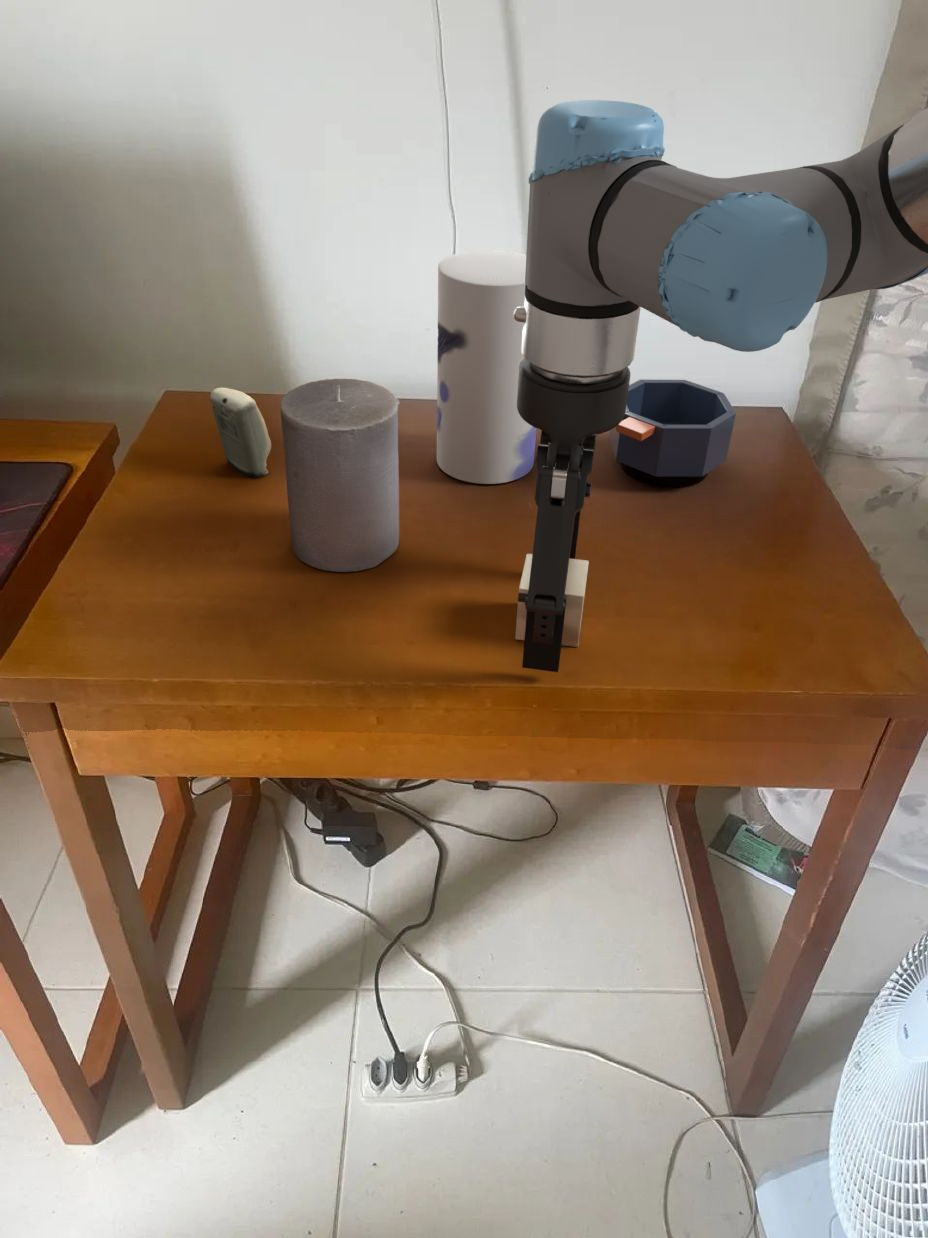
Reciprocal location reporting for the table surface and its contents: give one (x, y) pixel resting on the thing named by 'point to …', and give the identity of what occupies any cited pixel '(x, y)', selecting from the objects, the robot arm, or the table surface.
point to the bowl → (673, 428)
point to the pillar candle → (342, 473)
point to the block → (573, 602)
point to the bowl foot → (661, 478)
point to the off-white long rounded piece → (241, 431)
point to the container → (481, 368)
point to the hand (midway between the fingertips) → (549, 613)
